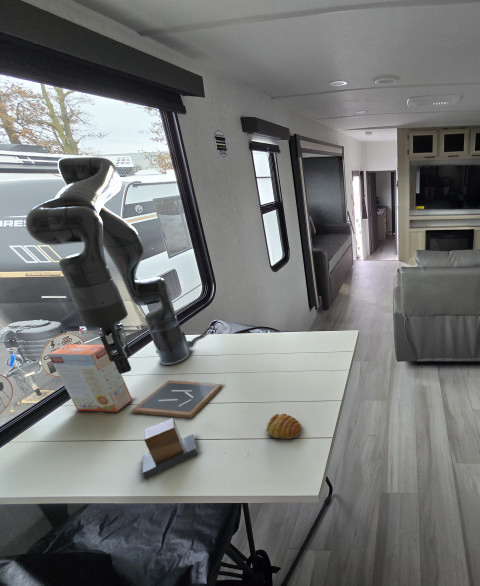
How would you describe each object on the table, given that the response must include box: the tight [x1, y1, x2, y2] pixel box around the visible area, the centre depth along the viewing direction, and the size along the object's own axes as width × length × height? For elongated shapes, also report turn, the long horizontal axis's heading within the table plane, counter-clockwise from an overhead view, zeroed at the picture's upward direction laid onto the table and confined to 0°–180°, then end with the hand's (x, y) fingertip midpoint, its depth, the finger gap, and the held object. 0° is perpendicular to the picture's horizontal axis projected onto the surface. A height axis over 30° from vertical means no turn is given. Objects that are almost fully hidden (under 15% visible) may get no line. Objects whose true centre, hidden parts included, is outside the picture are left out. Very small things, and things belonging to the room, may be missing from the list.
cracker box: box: [47, 343, 133, 413], centre depth 94 cm, size 14×6×21 cm, turn 84°
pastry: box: [266, 413, 303, 440], centre depth 85 cm, size 9×7×4 cm
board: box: [131, 380, 222, 419], centre depth 99 cm, size 14×20×1 cm
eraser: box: [142, 417, 198, 480], centre depth 77 cm, size 6×11×10 cm, turn 127°
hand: (125, 363), depth 73 cm, fingers open, 8 cm apart
